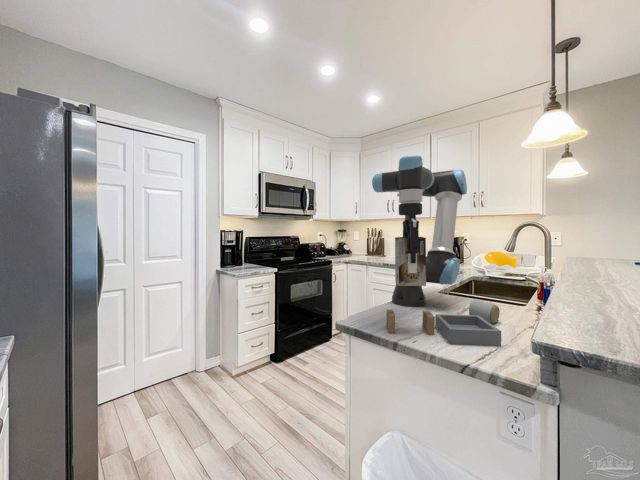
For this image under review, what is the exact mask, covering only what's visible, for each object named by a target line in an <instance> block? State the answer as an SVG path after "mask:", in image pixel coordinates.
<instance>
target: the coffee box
mask: <svg viewBox="0 0 640 480" xmlns="http://www.w3.org/2000/svg"><path fill="white" fill-rule="evenodd" d="M426 241H427V238H426V237H423V236H419V252H417V273H408V253H407V251H409V246H408V237H403V236H398V237H397V236H395V237H394V246H395V247H394V252H395V254H394V256H395V257H394V261H395V262H394V263H395V265H394V266H395V267H394V268H395V269H394V271H395V276H394V277H395V279H394V281H395V284H396V283H397V285H398V286H422V287H426V286H427V282H426V256H427V250H426V249H427V248H426V247H427V242H426Z"/></svg>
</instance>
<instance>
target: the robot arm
mask: <svg viewBox="0 0 640 480" xmlns="http://www.w3.org/2000/svg"><path fill="white" fill-rule="evenodd" d="M423 165H424V162H423V157H422V156H421V155H417V154H409V155H404V156H402V157H400V158H399V161H398V168H397V169H398V170H396V171H387V172H380V173H376V174H374V175H373V176H372V180H371V182H372V183H371V186H372V189H373V190H374V192H375V193H381V194H382V193H387V192H388V193H397V194H396V196H397V197H398V203H400V204H398V215H399V216H404V220H403V221H402V237H408V246H409V251H407V253H408V273H417V252H419V237H420V235H419V229H420V228H419V225H420V221H419V220H417V215H418V216H419V215H422V214H423V204H422V202H423V197H427V198H428V197H429V198H430V197H431V198H433V197H434V199H435V200H436V202H437V203H436V211H435V220H434V226H433V235H432V243H431V248H430V249H429V250H428V251H427V252H426V283H431V284H437V285H438V284H439V285H441V286H442V285H451V286H452V285H453V284H454V283H455V282H456V281H457V279H458V277H459V273H460V264H461V262H460V259H459V258H458V257H457V254H456V252H454V243H455V232H456V231H455V230H456V223H457V222H456V221H457V214H458V204H459V202H460V201H462V199H463V196H465V195H467V192H468V186H467V185H468V183H467V179H466V175H465V172H464V170H462V169H451V170H445V171H444V170H443V171H436V172H435V171H434V172H432V171H431V170H430V169H429V168H427V167H424V166H423ZM426 301H427V299H426V296H425V293H424V289H423V286H398V285H397V283H396V282H395V287H394V290H393V292H392V296H391V302H392V304H395V305H398V306H403V307H423V306H425V305H426V303H427V302H426Z"/></svg>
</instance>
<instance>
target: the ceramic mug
mask: <svg viewBox="0 0 640 480" xmlns="http://www.w3.org/2000/svg"><path fill="white" fill-rule="evenodd" d="M500 312H501V309H500V308H499V306H498V305H497V304H495V303H492V302H488V301H485V300H481V299H477V298H474V299H472V300H471V302H470V304H469V308H468V315H479V316H480V317H482V318H483V319H484V320H486V321H487V322H489V323H490V324H492V325H493V324H496V323H497V322H498V321H499V319H500Z"/></svg>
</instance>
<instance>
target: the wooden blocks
mask: <svg viewBox="0 0 640 480" xmlns="http://www.w3.org/2000/svg"><path fill="white" fill-rule="evenodd" d="M385 315H386V317H385V318H386V325H385V326H386V329H387V331H388V333H389V334H396V314H395V312H394V310H393V309H387V308H386V313H385ZM422 328H423V330H424V331H425V333H426V335H428V336H435V316H434V314H432V312H431V311H430V310H427V309H423V310H422Z"/></svg>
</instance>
